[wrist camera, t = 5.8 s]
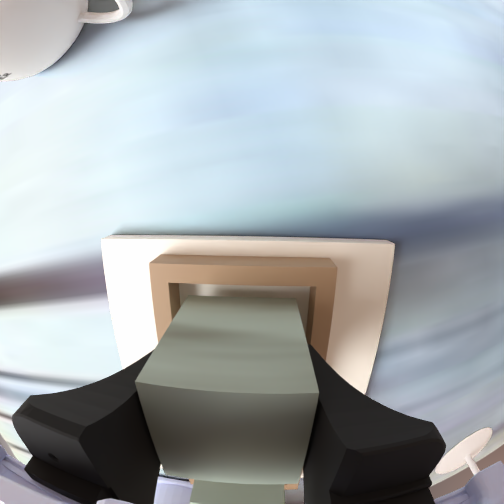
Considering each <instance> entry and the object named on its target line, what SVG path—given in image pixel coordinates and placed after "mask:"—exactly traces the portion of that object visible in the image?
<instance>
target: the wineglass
mask: <svg viewBox="0 0 504 504" xmlns="http://www.w3.org/2000/svg"><path fill="white" fill-rule="evenodd" d="M491 435H492V429H491V428H489V427H488V428H483V429H481V430H479V431H476V432H475V433H473V434H471V435H470V436H468V437H466V438H465V439H464V440H462V441H461V442H460V443H458V444H457V445H456V446H455V447H454V448H452V449H451V450H450V451H449V452H448V453H447V454H446V455H445V456H444V457H443V458H442V459H441V460H440V462H439V463H438V465H437V466H436V470H435V471H436V473H437V474H445V473H449V472H451V471H454V470H456V469H458V468H459V467H461V466H463V465H464V464H466V463H467V464H468V466H469V467H470V469H471V471H472V473H473V474H474V475H475V474H477V473H478V472H480V470H479V468H478V467H477V465H476V463H475V461H474V460H473V458H474V457H475V456H476V455H477V454H478V453H479V452H480V451H481V450H482V449H483V448H484V447H485V445H486V444H487V443H488V441H489V440H490V438H491Z"/></svg>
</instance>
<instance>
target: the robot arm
mask: <svg viewBox="0 0 504 504" xmlns="http://www.w3.org/2000/svg"><path fill="white" fill-rule="evenodd" d="M307 345H308V349H309V353H310V357H311V361H312V365H313V369H314V373H315V377H316V381H317V385H318V390H319V396H318V402H317V407H316V412H315V416H314V421H313V426H312V430H311V435H310V439H309V444H308V448H307V452H306V456H305V460H304V464H303V480H304V504H504V465H503V463H502V462H501V461H498V462H496V463H495V464H493V465H491V466H489V467H487V468H485V469H483V470H481V471H480V472H478V473H477V474H475V475H474V476H473V477H472V478H471V479H470V480H469V481H468V482H467V484H466V485H465V487H463V488H460V489H458V490H456V491H454V492H451V493H449V494H446V495H444V496H441V497H439V498H436V499H433V497H432V495H431V492H430V490H429V488H428V487H430V486H431V485H432V481H431V479H430V477H429V475H430V473H431V472H432V471H433V469H434V468H435V467H436V465H437V464H438V463H439V461H440V460H441V458H442V456H443V454H444V452H445V448H446V444H445V442H444V440H443V438H442V436H441V435H440V433H439V431H438V430H437V428H436V426H435V425H434V424H433V423H432V422H428V421H425V420H421V419H417V418H414V417H410V416H407V415H405V414H402V413H399V412H397V411H394V410H392V409H390V408H388V407H386V406H384V405H382V404H380V403H378V402H376V401H374V400H372V399H371V398H369V397H367V396H366V395H364V394H363V393H361V392H360V391H359V390H357V389H356V388H354V387H353V386H352V385H350V384H349V383H348V382H347V381H346V380H344V379H343V378H342V377H341V376H340V375H339V374H338V373H337V372H336V371H335V370H334V369H333V368H332V367H331V366H330V365H329V364H328V363H327V362H326V361H325V360H324V359H323V358H322V357H321V356H320V354H319V353H318V352H317V351H316V350H315V349H314V347H313V346H312V345H311V344H307ZM153 351H154V350H152V351H151V352H150V353H148V354H147V355H145V356H144V357H142V358H141V359H139V360H138V361H136V362H134V363H133V364H131V365H130V366H128V367H126V368H125V369H123V370H121V371H119V372H117V373H115V374H113V375H111V376H109V377H107V378H105V379H102V380H100V381H97V382H95V383H92V384H89V385H86V386H83V387H80V388H76V389H72V390H68V391H63V392H58V393H52V394H42V395H31V396H30V397H29V398H28V399H27V400H26V401H25V402H24V403H23V404H22V405H21V406H20V408H19V409H18V410H17V411H16V412H15V413H14V414H13V416H12V421H13V425H14V428H15V430H16V431H17V433H18V435H19V436H20V438H21V439H22V441H23V442H24V444H25V445H26V447H27V448H28V450H29V451H30V453H31V454H32V455H33V457H32V458H31V459H30V461H29V462H28V464H27V465H25V464H23V463H21V462H20V461H18V460H16V459H14V458H13V457H12V456H10V455H8V454H7V452H6V451H5V449H4V448H3V446H2V445H1V444H0V504H190V502H189V501H190V497H191V492H192V488H193V484H190V482H187V481H181V480H175V479H169V478H164V477H159V471H160V466H161V462H160V460H159V457H158V454H157V452H156V449H155V446H154V443H153V440H152V437H151V434H150V431H149V428H148V425H147V422H146V419H145V416H144V412H143V409H142V406H141V402H140V399H139V395H138V391H137V388H136V384H135V380H136V379H137V377H138V375H139V374H140V372H141V370H142V369H143V367H144V366H145V364H146V362H147V361H148V359H149V357H150V356H151V354H152V352H153Z"/></svg>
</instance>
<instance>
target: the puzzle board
mask: <svg viewBox="0 0 504 504" xmlns="http://www.w3.org/2000/svg"><path fill="white" fill-rule="evenodd" d="M101 244H102V254H103V263H104V272H105V279H106V286H107V293H108V299H109V305H110V311H111V317H112V322H113V327H114V332H115V337H116V342H117V346H118V350H119V355H120V359H121V363H122V367H123V369H125V368H126V367H128V366H130V365H131V364H133V363H134V362H136V361H138V360H139V359H141V358H142V357H144V356H145V355H147V354H148V353H150V352H151V351H152V350H154V349H155V348H156V346H157V344H158V343H159V341H160V339H161V338H162V336H163V335H164V333H165V331H166V330H167V328H168V327H169V325H170V323H171V322H172V320H173V319H174V317H175V315H176V314H177V312H178V311H179V309H180V308H181V306H182V304H183V303H184V301H185V300H186V298H187V297H188V295H199V296H224V297H261V298H296V302H297V306H298V310H299V313H300V317H301V321H302V325H303V329H304V333H305V337H306V341H307V344H311V345H312V346H313V347H314V349H315V350H316V351H317V352H318V353H319V354H320V356H321V357H322V358H323V359H324V360H325V361H326V362H327V363H328V364H329V365H330V366H331V367H332V368H333V369H334V370H335V371H336V372H337V373H338V374H339V375H340V376H341V377H342V378H343V379H344V380H346V381H347V382H348V383H349V384H350V385H352V386H353V387H354V388H356V389H357V390H359V391H360V392H361V393H363V394H364V395H365V393H366V389H367V386H368V382H369V379H370V375H371V372H372V368H373V364H374V360H375V356H376V352H377V348H378V343H379V339H380V334H381V330H382V325H383V320H384V315H385V310H386V304H387V299H388V293H389V287H390V280H391V273H392V266H393V258H394V250H395V244H394V243H392V242H390V241H388V240H375V239H344V238H309V237H264V236H196V235H110V236H107V237H105V238H102V239H101ZM160 468H162V465H161V466H160ZM300 478H303V468H302V472H301V475H300ZM189 481H190V484H193V488H192V492H191V497H190V501H189V502H190V504H285V491H284V490H288V489H297V488H298V484H299V483H298V484H238V483H224V482H213V481H204V480H196V479H189ZM299 481H300V479H299Z"/></svg>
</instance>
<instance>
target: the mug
mask: <svg viewBox="0 0 504 504" xmlns="http://www.w3.org/2000/svg"><path fill="white" fill-rule="evenodd" d="M115 1H116V2H117V4H118V6H119V9H118V10H116V11H113V12H106V13H94V12H87V11H88V0H0V82H5V81H15V80H20V79H24V78H28V77H31V76H34V75H36V74H38V73H40V72H41V71H43V70H45V69H46V68H48V67H50V66H51V65H53V64H54V63H55V62H56V61H57V60H59V59H60V58H61V57H62V56H63V55H64V54H65V53H66V51H67V50H68V49H69V48H70V47H71V45H72V44H73V43H74V41H75V40H76V38H77V37H78V35H79V33H80V31H81V29H82V27H83V25H84V23H95V24H96V23H113V22H117V21H121V20H123V19H124V18H126V17H127V16H128V15H129V14H130V13H131V12H132V8H133V2H132V0H115Z"/></svg>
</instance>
